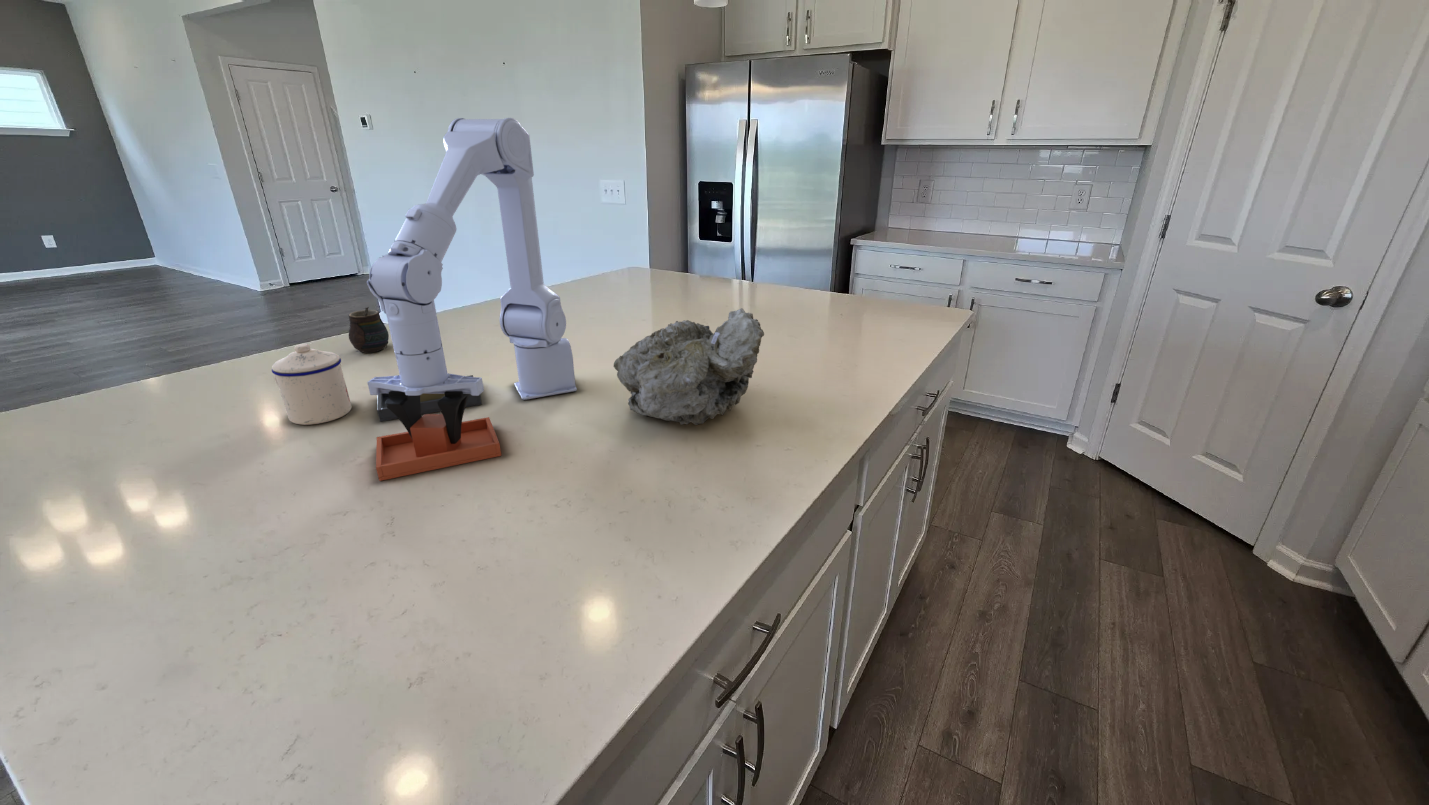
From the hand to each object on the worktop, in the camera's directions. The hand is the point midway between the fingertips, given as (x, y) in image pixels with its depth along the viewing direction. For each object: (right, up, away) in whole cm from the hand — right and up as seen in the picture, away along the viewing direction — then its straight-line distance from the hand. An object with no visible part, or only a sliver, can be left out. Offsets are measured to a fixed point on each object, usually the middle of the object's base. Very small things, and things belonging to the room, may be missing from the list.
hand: (437, 440), depth 82 cm
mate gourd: (-34, +16, +42) cm, 56 cm away
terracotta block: (0, -1, +1) cm, 1 cm away
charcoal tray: (-9, +5, +17) cm, 20 cm away
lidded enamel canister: (-26, +3, +13) cm, 29 cm away
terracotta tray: (0, -2, +1) cm, 2 cm away
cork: (-9, +6, +17) cm, 20 cm away
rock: (+35, +4, +15) cm, 38 cm away
